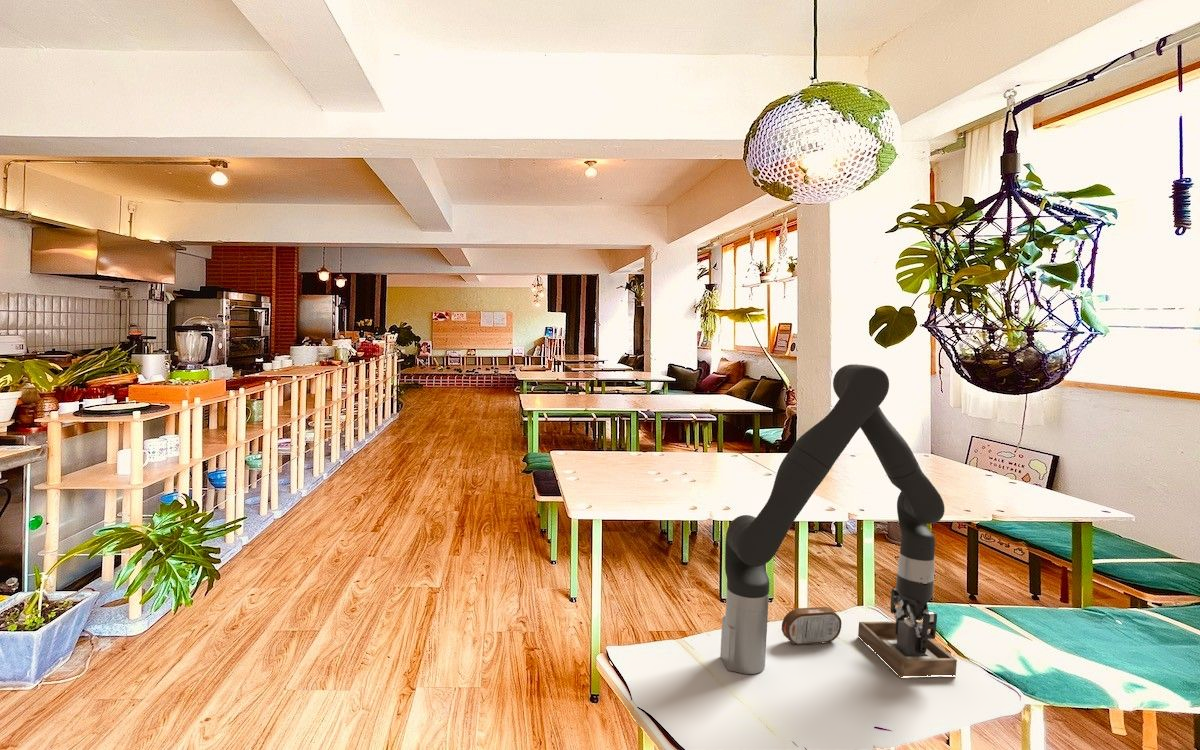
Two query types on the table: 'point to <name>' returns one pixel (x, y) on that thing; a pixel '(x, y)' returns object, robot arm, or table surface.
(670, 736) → the table surface
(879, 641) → the box
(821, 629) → the tin
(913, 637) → the connector
